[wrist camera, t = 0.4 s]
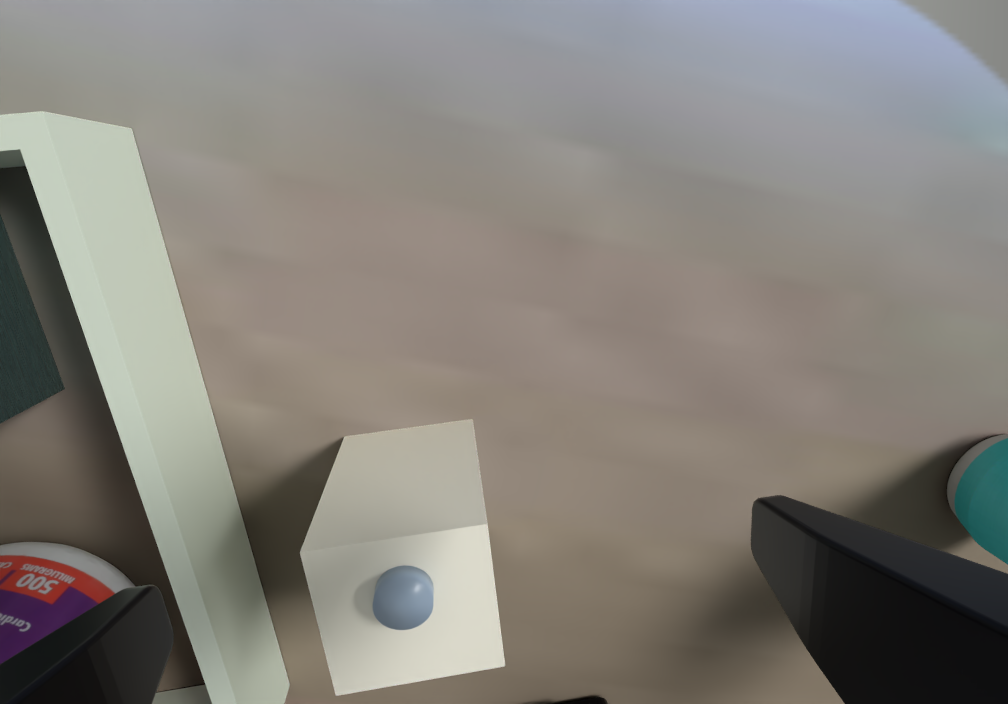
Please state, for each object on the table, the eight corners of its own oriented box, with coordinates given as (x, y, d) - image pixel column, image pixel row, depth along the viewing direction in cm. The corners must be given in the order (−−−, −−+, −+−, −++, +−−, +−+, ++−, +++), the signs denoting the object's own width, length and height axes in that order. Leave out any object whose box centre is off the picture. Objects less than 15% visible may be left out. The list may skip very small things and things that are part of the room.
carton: (486, 526, 23) (507, 683, 16) (367, 544, 22) (332, 714, 15) (472, 418, 21) (489, 537, 14) (344, 436, 21) (293, 567, 14)
